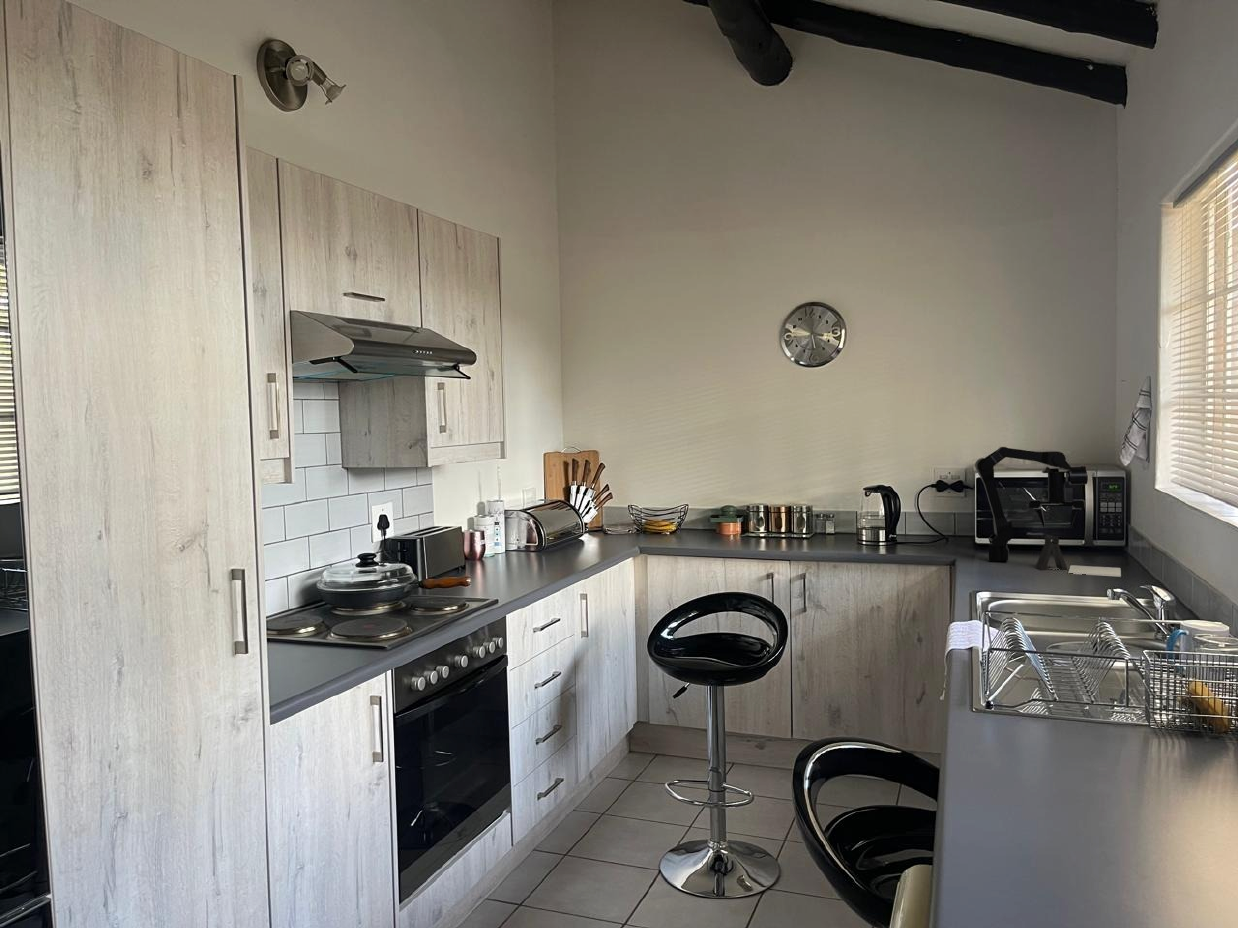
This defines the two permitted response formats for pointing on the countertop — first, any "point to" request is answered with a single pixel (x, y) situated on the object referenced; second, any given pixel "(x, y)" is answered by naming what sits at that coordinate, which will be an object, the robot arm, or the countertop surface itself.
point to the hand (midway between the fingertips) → (1057, 527)
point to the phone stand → (1046, 553)
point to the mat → (1095, 570)
